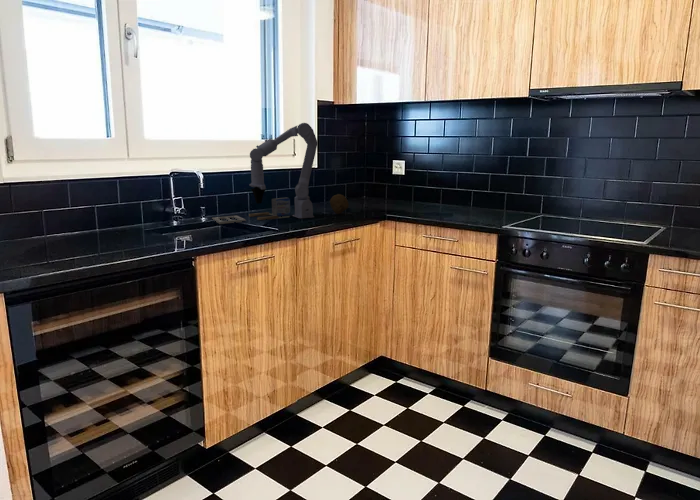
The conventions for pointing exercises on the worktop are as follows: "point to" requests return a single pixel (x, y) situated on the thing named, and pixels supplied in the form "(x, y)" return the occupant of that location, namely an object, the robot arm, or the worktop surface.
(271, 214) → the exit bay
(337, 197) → the natural sponge
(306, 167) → the robot arm
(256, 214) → the channel rails
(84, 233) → the worktop surface
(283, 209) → the medicine box
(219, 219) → the plate
